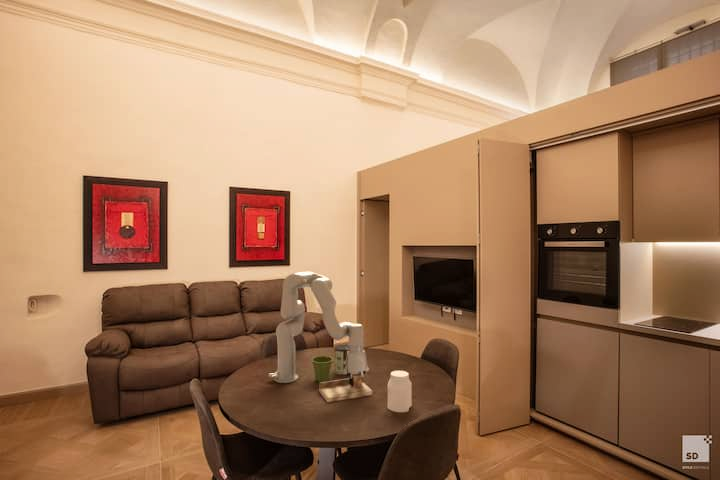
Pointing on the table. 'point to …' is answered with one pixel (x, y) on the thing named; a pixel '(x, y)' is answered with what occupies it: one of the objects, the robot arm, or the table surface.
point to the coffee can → (340, 358)
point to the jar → (399, 392)
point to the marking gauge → (357, 380)
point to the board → (342, 390)
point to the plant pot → (322, 367)
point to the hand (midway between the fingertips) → (355, 384)
